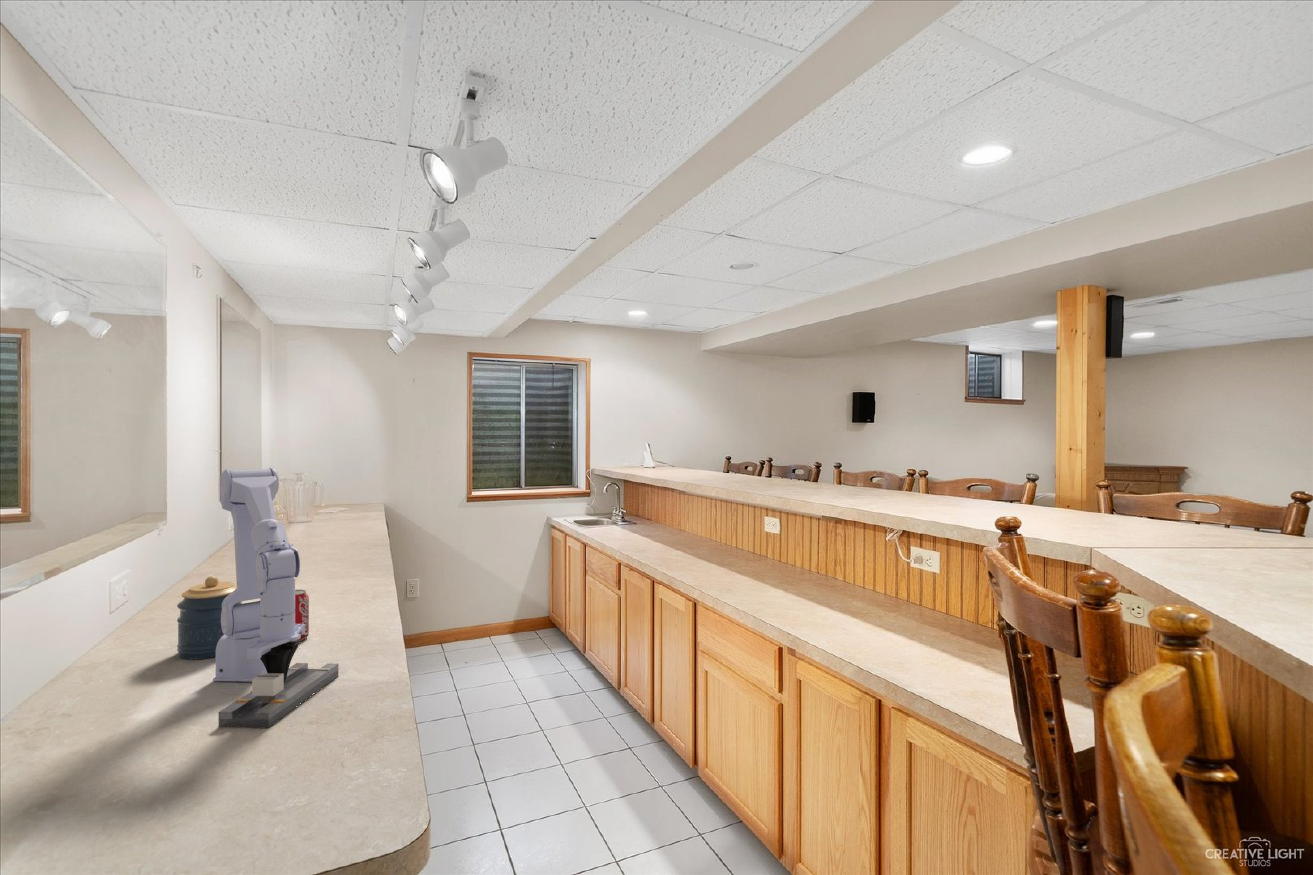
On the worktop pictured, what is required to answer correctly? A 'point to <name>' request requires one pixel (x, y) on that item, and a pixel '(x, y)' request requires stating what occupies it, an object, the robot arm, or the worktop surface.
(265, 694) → the fader knob
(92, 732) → the worktop surface
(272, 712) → the grey slider rail
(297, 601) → the beverage can
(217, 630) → the canister
